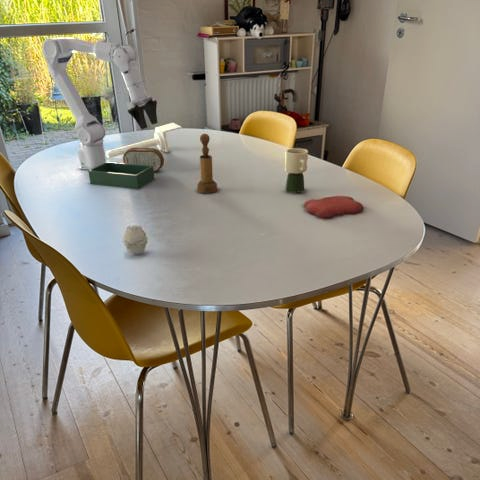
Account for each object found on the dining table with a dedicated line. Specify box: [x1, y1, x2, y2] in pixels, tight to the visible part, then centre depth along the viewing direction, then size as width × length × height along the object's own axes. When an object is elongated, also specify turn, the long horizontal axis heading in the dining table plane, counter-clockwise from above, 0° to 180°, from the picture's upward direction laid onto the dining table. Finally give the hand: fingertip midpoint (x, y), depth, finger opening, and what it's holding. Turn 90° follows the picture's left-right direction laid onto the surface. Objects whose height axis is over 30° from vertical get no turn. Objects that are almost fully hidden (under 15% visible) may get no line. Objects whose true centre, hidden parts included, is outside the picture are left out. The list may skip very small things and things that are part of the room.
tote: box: [87, 161, 155, 190], centre depth 169 cm, size 19×12×5 cm, turn 70°
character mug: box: [284, 147, 309, 194], centre depth 155 cm, size 11×7×13 cm, turn 21°
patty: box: [303, 195, 364, 219], centre depth 145 cm, size 18×14×2 cm
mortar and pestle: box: [196, 133, 218, 195], centre depth 156 cm, size 7×6×18 cm
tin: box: [122, 147, 165, 173], centre depth 178 cm, size 15×3×8 cm, turn 84°
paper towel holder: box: [105, 122, 183, 159], centre depth 200 cm, size 9×9×32 cm
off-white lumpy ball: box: [122, 224, 149, 255], centre depth 119 cm, size 6×7×7 cm
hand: (149, 126), depth 170 cm, fingers open, 7 cm apart
